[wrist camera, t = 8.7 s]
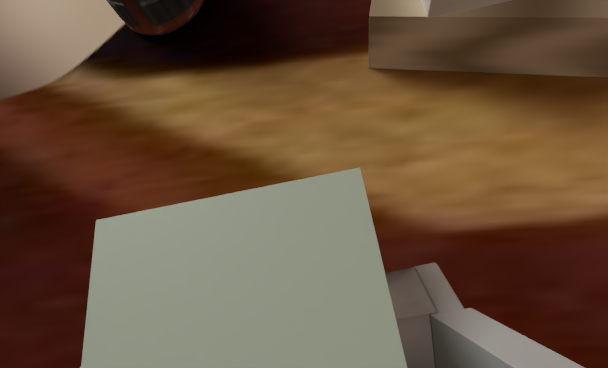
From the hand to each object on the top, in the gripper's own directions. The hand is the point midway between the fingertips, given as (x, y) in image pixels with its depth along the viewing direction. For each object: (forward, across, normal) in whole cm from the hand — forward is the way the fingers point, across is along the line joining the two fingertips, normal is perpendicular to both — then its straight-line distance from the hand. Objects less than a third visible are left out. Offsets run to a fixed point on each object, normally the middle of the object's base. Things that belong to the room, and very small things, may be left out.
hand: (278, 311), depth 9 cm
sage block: (+3, 0, +4) cm, 4 cm away
